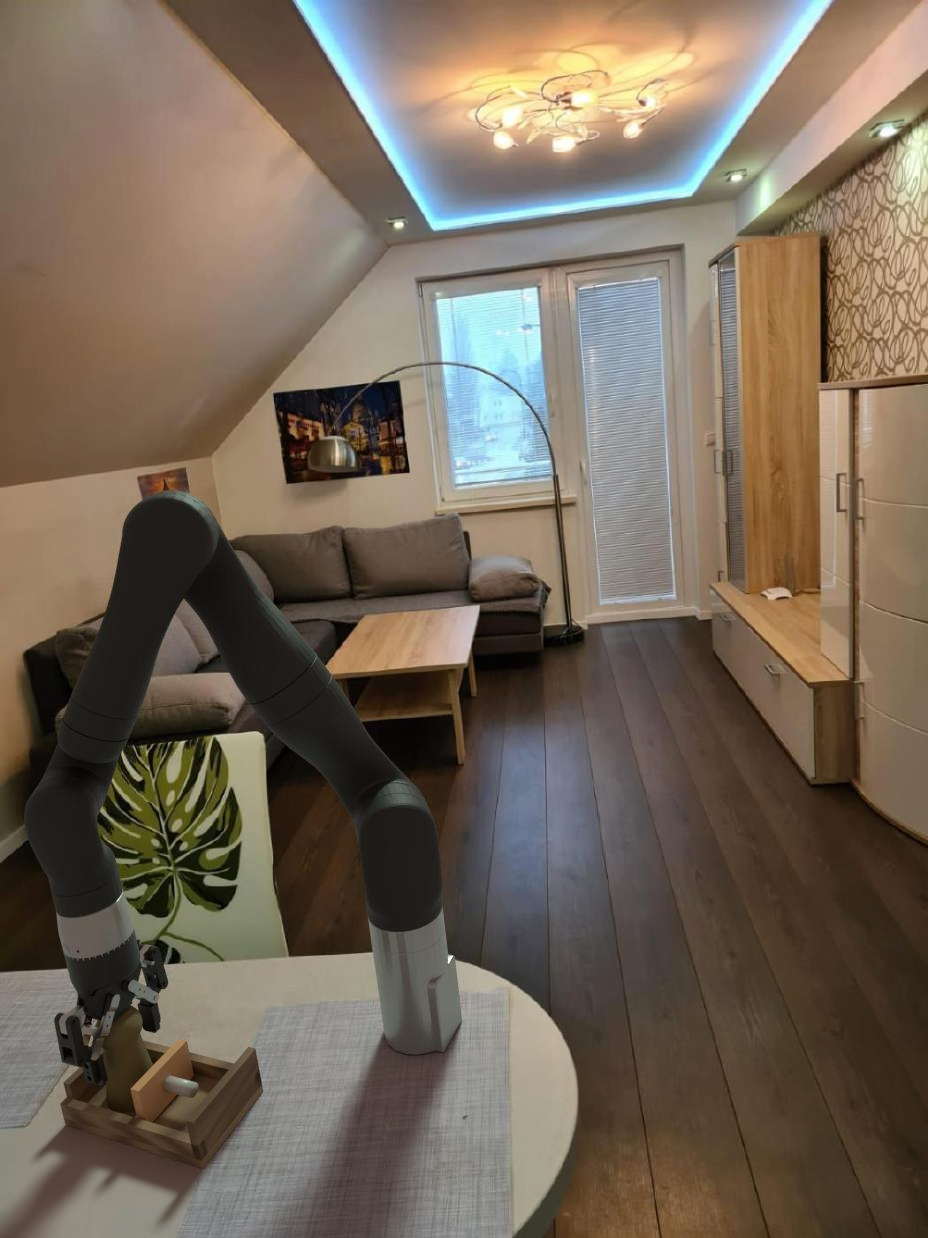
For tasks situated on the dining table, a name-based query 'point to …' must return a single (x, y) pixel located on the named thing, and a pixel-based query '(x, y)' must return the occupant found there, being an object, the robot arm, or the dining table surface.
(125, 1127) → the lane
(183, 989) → the dining table surface
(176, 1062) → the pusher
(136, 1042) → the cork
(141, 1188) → the dining table surface
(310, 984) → the dining table surface
